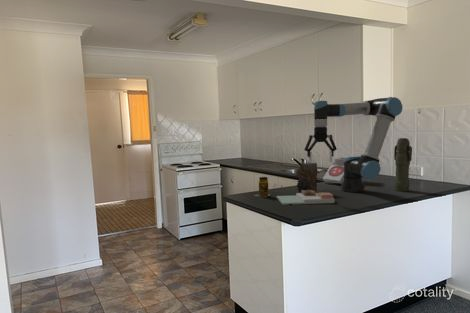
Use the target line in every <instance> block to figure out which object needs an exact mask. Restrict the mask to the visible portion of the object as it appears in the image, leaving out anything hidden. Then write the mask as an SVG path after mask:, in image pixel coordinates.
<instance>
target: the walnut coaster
mask: <svg viewBox="0 0 470 313" xmlns="http://www.w3.org/2000/svg"><path fill="white" fill-rule="evenodd" d="M316 193H317V191H316V192H315V191H313V190H301V194H303V195H304V196H315V195H316Z"/></svg>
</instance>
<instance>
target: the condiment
mask: <svg viewBox="0 0 470 313" xmlns="http://www.w3.org/2000/svg"><path fill="white" fill-rule="evenodd" d="M269 196H271V194H269V181H268V177H267V176H260V177H259V181H258V193H257V194H255V195H254V197H261V198H267V197H269Z"/></svg>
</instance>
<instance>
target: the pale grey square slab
mask: <svg viewBox="0 0 470 313" xmlns="http://www.w3.org/2000/svg"><path fill="white" fill-rule="evenodd" d="M318 193H319V192H316V195H315V196H304V195H303V194H301V193H299V192H296V193H295V195H296V196H297V197H298V198H299V199H300V200H301V201H303V202H304V204H303V205H310V204H311V205H312V204H313V205H315V204H335V202H336V200H335V198H334V197H333V198H329V199H321V198H320V197H318ZM321 193H325V192H324V191H323V192H322V191H321Z"/></svg>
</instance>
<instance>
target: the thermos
mask: <svg viewBox="0 0 470 313" xmlns="http://www.w3.org/2000/svg"><path fill="white" fill-rule="evenodd" d="M410 143H411V142H410V141H409V139H408V137H406V138H405V137H403V138H402V137H400V138H398V139H397V142H396V145H394V153H393V156H394V161H395V163H394V164H395V179H394V184H393V185H394V191H396V192H409V191H410V189H409V188H410V179H409V177H410V176H409V174H410V172H409V171H410V166H411V161H412V156H413V155H412V154H413V146H411V144H410Z"/></svg>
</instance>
